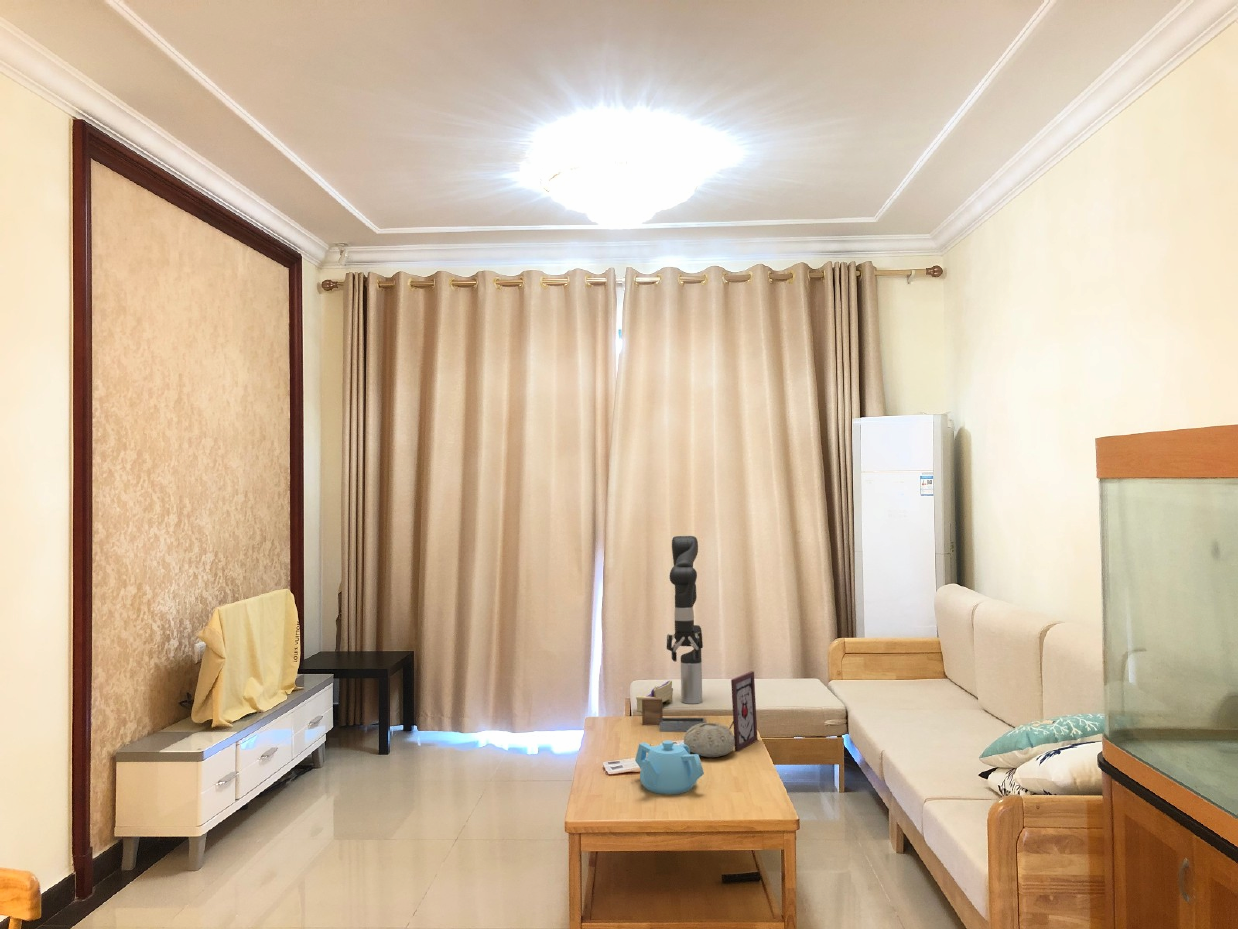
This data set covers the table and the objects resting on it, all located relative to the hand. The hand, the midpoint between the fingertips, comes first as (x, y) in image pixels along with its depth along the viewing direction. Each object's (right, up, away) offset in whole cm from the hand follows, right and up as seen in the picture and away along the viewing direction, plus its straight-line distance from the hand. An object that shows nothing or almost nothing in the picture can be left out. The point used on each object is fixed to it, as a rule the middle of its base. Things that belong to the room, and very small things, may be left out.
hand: (685, 660), depth 329 cm
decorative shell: (+6, -25, -34) cm, 42 cm away
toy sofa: (-10, -28, +33) cm, 44 cm away
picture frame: (+17, -25, -22) cm, 38 cm away
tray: (-1, -26, -2) cm, 26 cm away
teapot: (-11, -24, -66) cm, 71 cm away
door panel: (-12, -27, +6) cm, 30 cm away
